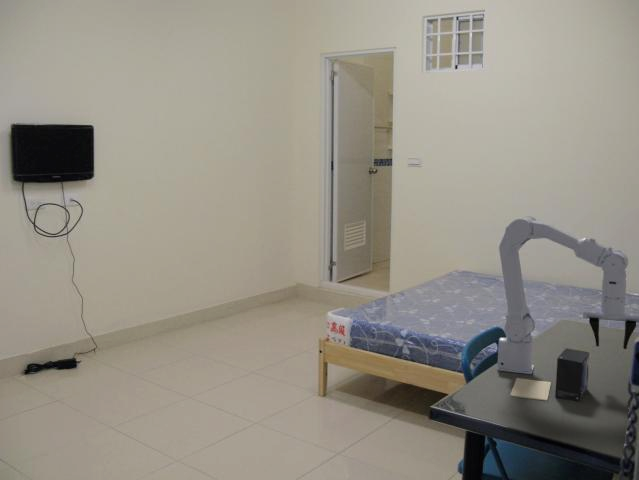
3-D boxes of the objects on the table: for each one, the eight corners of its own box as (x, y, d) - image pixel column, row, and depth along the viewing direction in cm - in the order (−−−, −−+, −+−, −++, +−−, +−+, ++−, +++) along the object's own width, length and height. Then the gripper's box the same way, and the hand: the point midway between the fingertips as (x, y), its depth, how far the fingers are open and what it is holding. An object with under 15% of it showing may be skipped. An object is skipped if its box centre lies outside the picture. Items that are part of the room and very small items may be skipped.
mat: (510, 396, 165) (510, 394, 165) (516, 379, 178) (516, 378, 178) (547, 400, 161) (547, 399, 161) (551, 383, 174) (551, 382, 174)
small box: (581, 402, 160) (583, 361, 159) (554, 397, 164) (555, 357, 163) (588, 389, 169) (590, 351, 168) (563, 385, 173) (564, 347, 171)
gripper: (583, 297, 169) (581, 347, 171) (644, 302, 164) (642, 353, 165) (584, 292, 176) (582, 340, 177) (643, 296, 170) (640, 346, 172)
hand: (611, 346), depth 172 cm, fingers open, 6 cm apart
